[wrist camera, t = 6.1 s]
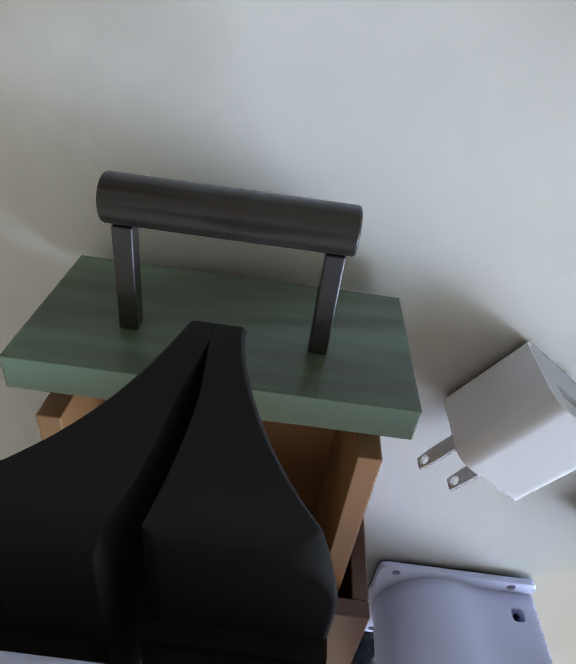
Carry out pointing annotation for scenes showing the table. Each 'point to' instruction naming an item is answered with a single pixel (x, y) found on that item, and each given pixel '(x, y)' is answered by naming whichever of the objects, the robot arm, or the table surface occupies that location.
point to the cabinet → (350, 606)
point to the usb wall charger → (512, 425)
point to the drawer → (244, 311)
